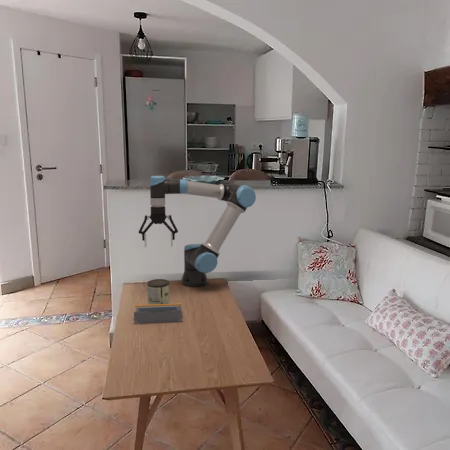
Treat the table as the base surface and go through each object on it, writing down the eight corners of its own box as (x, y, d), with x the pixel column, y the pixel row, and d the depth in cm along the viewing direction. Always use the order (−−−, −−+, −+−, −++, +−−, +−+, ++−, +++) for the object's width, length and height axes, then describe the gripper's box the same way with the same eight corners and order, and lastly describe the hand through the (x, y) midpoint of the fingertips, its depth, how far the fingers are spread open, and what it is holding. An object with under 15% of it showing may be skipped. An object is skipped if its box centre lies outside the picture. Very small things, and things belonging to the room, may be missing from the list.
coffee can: (151, 306, 213) (150, 278, 211) (171, 306, 212) (171, 279, 210) (145, 313, 203) (144, 284, 200) (166, 314, 202) (166, 285, 199)
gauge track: (180, 307, 211) (180, 297, 211) (181, 321, 193) (181, 311, 192) (136, 309, 209) (136, 299, 208) (134, 323, 190) (133, 313, 190)
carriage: (182, 312, 201) (182, 302, 200) (182, 314, 198) (182, 304, 197) (134, 314, 198) (134, 304, 197) (133, 316, 195) (133, 306, 194)
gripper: (181, 204, 227) (182, 244, 230) (133, 205, 223) (134, 245, 227) (182, 206, 219) (183, 247, 223) (132, 207, 216) (133, 248, 219)
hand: (158, 246), depth 225 cm, fingers open, 13 cm apart
